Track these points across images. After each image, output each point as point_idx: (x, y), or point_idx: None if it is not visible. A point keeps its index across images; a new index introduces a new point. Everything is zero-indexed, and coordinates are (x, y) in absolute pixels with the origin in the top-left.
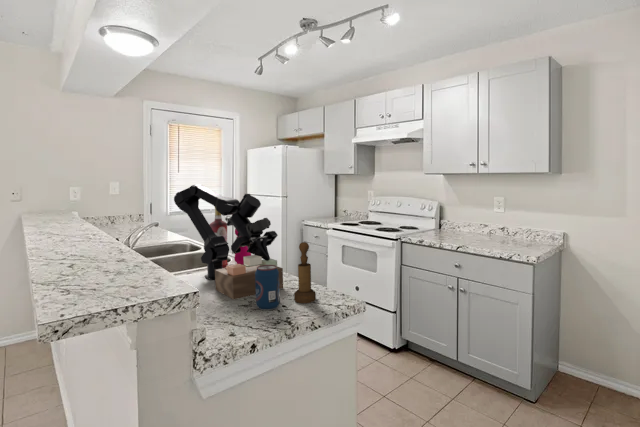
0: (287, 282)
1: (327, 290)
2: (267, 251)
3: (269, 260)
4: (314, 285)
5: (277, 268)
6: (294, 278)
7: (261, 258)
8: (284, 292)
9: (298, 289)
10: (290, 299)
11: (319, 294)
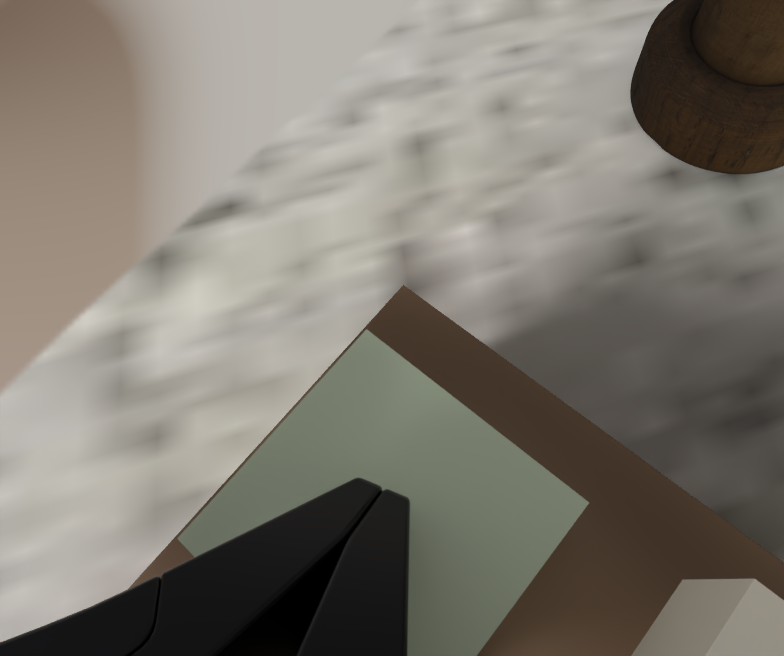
0: (203, 402)
1: (429, 17)
2: (224, 561)
3: (384, 489)
4: (297, 135)
5: (433, 357)
6: (48, 373)
7: (740, 582)
8: (561, 324)
9: (743, 93)
10: (754, 210)
11: (547, 42)
